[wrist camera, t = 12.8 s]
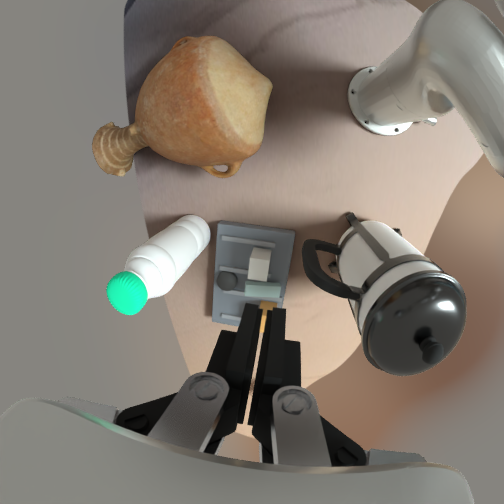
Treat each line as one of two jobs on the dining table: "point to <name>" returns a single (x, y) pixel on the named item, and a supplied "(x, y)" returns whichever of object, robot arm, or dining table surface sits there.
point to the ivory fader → (259, 264)
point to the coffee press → (392, 296)
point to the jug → (193, 111)
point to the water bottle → (158, 264)
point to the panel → (246, 266)
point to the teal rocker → (262, 289)
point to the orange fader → (265, 312)
